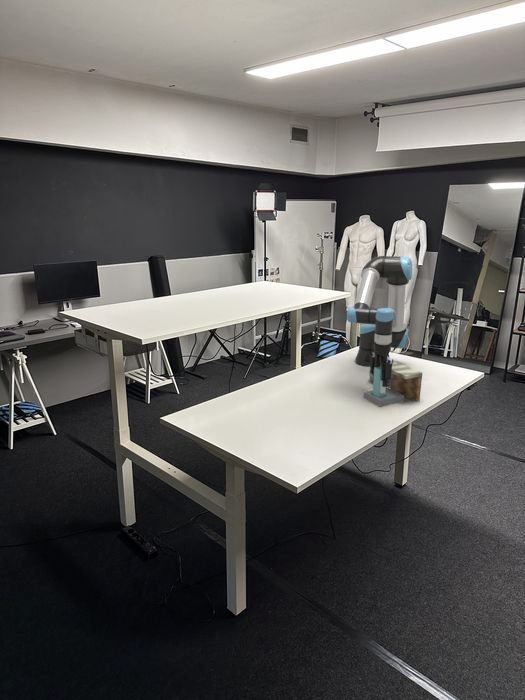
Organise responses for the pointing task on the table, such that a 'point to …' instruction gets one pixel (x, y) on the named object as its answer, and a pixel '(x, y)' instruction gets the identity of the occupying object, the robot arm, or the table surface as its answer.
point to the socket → (388, 399)
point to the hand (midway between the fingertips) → (379, 391)
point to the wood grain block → (406, 381)
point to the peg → (377, 382)
